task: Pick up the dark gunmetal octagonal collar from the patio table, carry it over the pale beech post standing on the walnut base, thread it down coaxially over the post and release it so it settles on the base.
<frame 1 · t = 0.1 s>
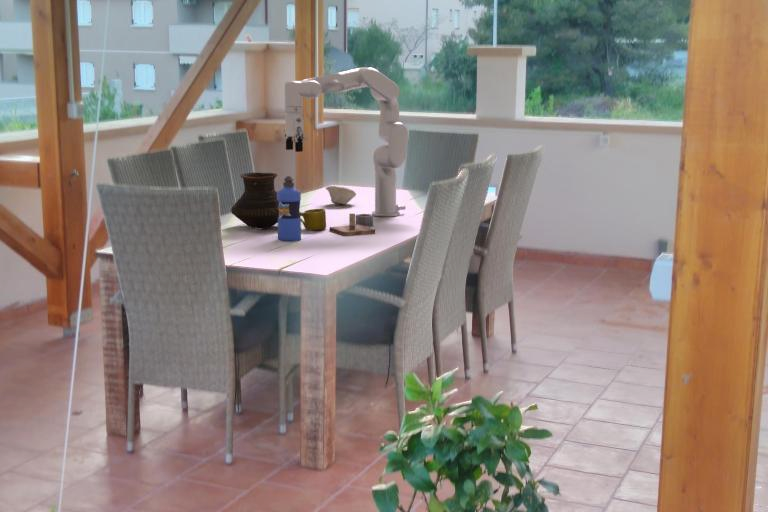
hand: (294, 150, 447), 31 cm above the table, fingers open, 9 cm apart
collar: (364, 225, 446), on the table
bowl: (341, 205, 504), on the table
ceramic pot: (260, 227, 440), on the table
water bottle: (289, 240, 412), on the table
post block: (352, 231, 430), on the table
mug: (311, 229, 436), on the table
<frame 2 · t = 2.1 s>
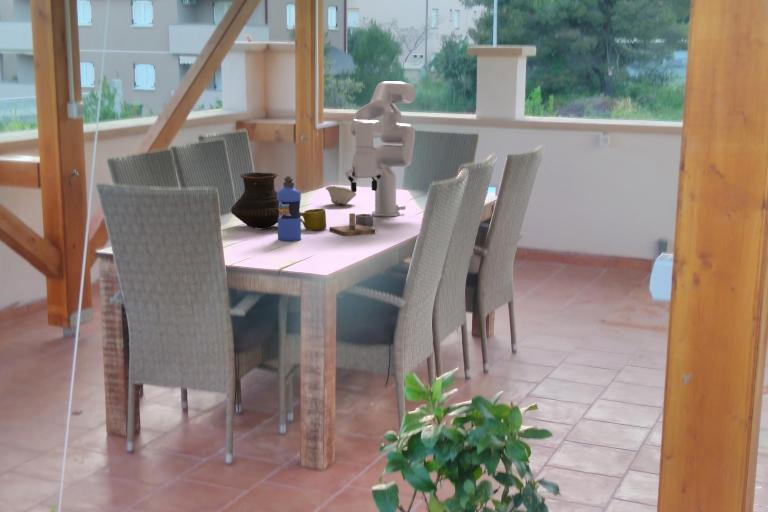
hand: (364, 191, 442), 15 cm above the table, fingers open, 9 cm apart
nothing on the table moved.
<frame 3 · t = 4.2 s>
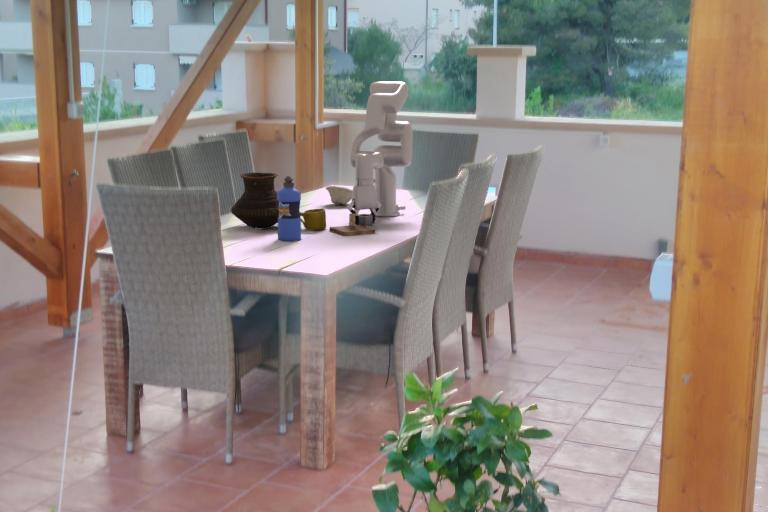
hand: (364, 223, 446), 1 cm above the table, fingers closed on collar, 7 cm apart
collar: (364, 225, 446), on the table, touching gripper
everything else where it was.
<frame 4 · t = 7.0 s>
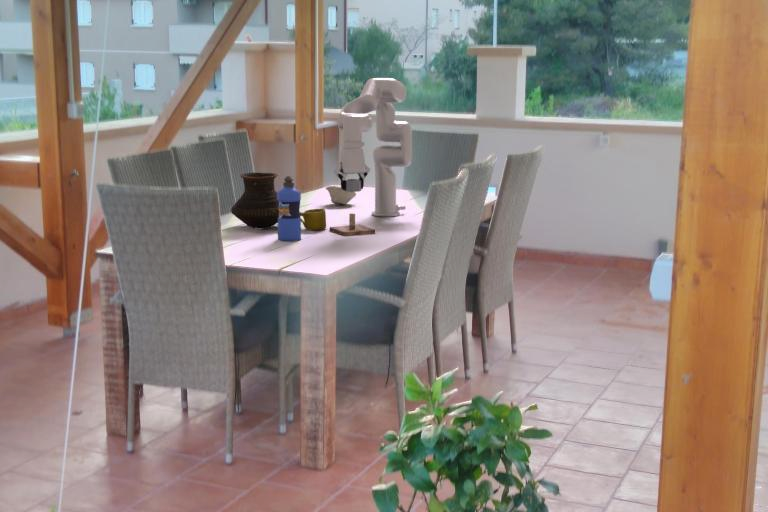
hand: (352, 188, 426), 18 cm above the table, fingers closed on collar, 7 cm apart
collar: (352, 190, 426), point 17 cm above the table, touching gripper
everything else where it was.
when the fingers open (5 cm above the table, at t = 9.8 s): collar drops 3 cm, resting on post block.
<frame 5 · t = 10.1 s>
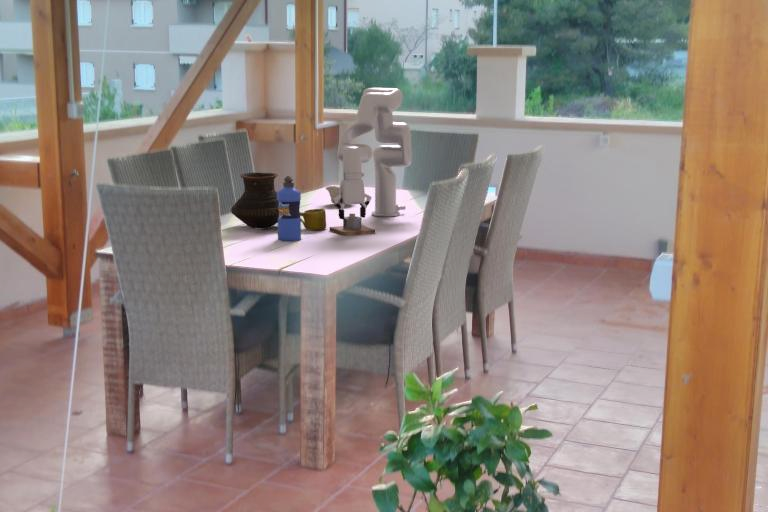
hand: (352, 218, 429), 6 cm above the table, fingers open, 9 cm apart
collar: (352, 228, 430), point 1 cm above the table, touching post block
everything else where it was.
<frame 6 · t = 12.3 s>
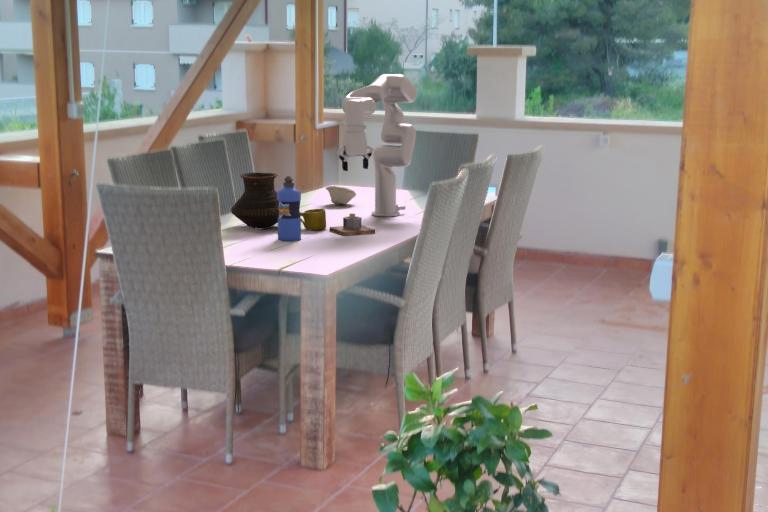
hand: (355, 169, 441), 24 cm above the table, fingers open, 9 cm apart
nothing on the table moved.
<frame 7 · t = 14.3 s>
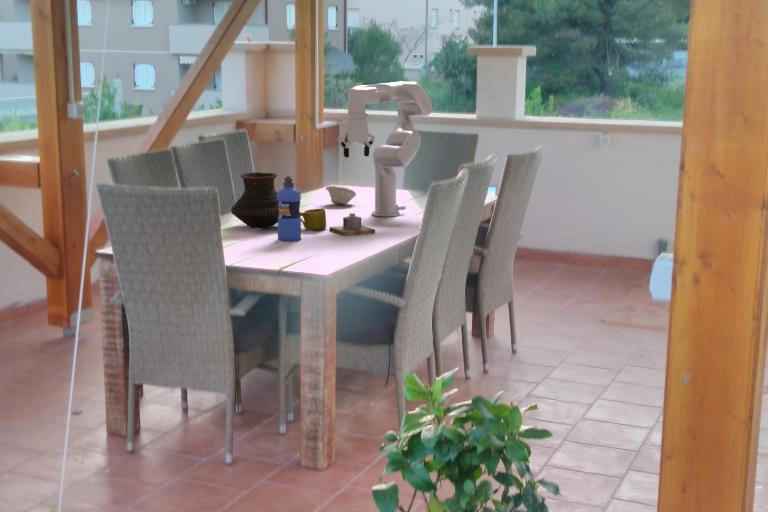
hand: (356, 156, 451), 28 cm above the table, fingers open, 9 cm apart
nothing on the table moved.
at the end: collar 0.1 cm off-centre on the post block, point 1.5 cm above the post block's base; the gripper is holding nothing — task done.
